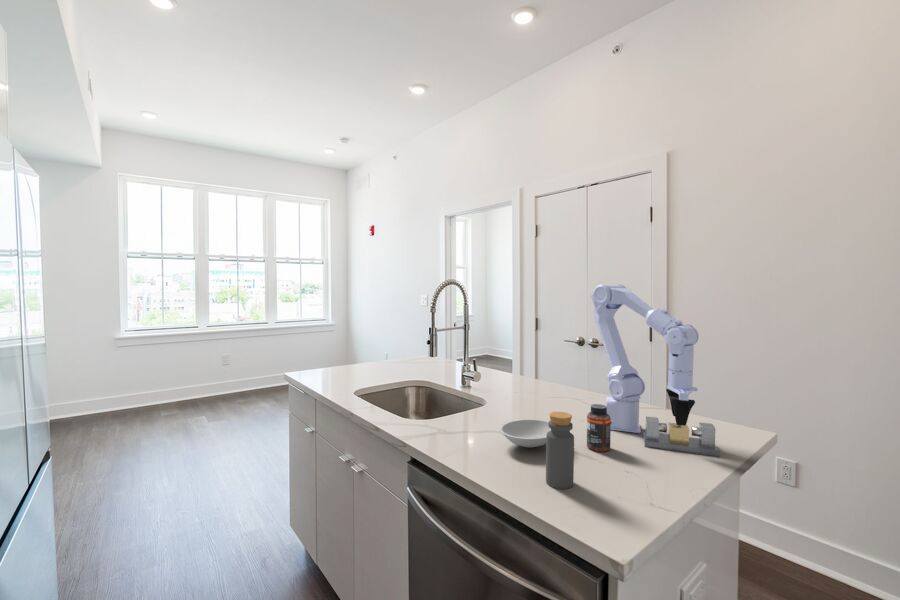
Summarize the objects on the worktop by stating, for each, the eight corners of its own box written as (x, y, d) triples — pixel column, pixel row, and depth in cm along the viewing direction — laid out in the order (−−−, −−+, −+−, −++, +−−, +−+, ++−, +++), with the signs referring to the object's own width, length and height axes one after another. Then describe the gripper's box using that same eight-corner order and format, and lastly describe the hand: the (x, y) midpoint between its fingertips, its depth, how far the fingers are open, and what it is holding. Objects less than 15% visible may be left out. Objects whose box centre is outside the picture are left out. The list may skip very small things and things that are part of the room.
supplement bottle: (609, 445, 113) (610, 404, 112) (610, 454, 107) (611, 410, 107) (586, 442, 115) (587, 401, 114) (586, 450, 109) (587, 407, 109)
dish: (533, 432, 123) (533, 415, 122) (573, 448, 111) (573, 429, 110) (486, 445, 113) (487, 426, 112) (524, 464, 101) (525, 443, 101)
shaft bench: (644, 446, 112) (645, 422, 112) (643, 436, 120) (643, 414, 119) (718, 456, 106) (719, 431, 106) (712, 445, 113) (712, 421, 113)
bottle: (542, 477, 94) (543, 410, 93) (567, 476, 94) (568, 410, 94) (550, 489, 88) (551, 419, 88) (577, 488, 89) (579, 418, 88)
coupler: (670, 441, 112) (670, 425, 112) (668, 436, 115) (668, 421, 115) (688, 444, 110) (689, 427, 110) (686, 439, 114) (686, 423, 114)
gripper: (702, 377, 104) (701, 431, 104) (693, 366, 117) (691, 414, 118) (670, 374, 106) (669, 427, 107) (665, 364, 120) (663, 411, 120)
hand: (679, 420), depth 113 cm, fingers open, 7 cm apart
